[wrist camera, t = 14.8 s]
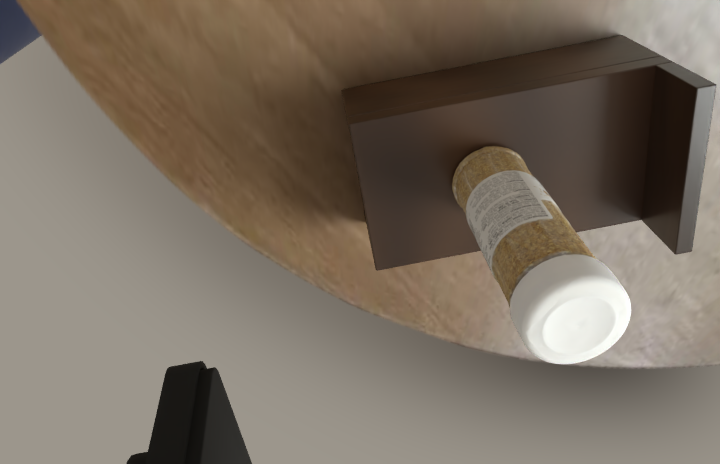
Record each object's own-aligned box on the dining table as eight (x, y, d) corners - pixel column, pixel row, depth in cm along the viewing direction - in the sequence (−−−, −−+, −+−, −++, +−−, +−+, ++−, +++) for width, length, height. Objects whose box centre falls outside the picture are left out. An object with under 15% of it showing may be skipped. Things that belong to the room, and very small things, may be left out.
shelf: (366, 223, 44) (384, 311, 35) (341, 89, 39) (355, 154, 30) (614, 175, 44) (692, 251, 35) (622, 34, 38) (716, 84, 30)
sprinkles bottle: (532, 197, 37) (640, 348, 25) (460, 222, 37) (534, 382, 26) (517, 130, 35) (629, 264, 23) (440, 158, 35) (512, 303, 24)
